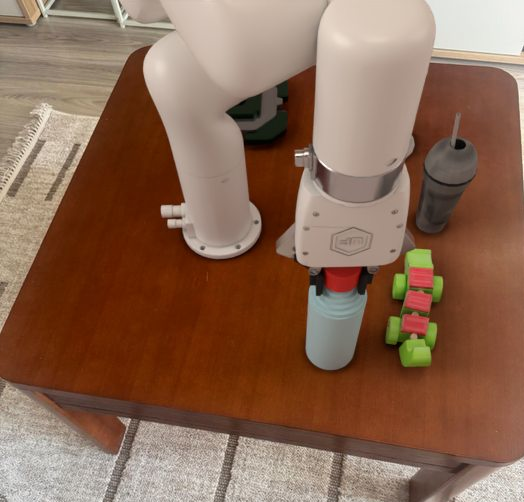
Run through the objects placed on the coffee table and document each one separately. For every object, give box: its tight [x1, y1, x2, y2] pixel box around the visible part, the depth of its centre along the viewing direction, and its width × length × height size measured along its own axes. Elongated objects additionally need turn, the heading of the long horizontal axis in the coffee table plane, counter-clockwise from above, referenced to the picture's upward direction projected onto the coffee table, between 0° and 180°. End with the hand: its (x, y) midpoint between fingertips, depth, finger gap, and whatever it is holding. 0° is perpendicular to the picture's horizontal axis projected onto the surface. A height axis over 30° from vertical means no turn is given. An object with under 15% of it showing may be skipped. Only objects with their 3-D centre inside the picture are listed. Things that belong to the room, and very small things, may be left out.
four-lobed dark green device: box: [225, 79, 289, 146], centre depth 94 cm, size 18×18×5 cm
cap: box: [323, 266, 362, 293], centre depth 57 cm, size 4×4×3 cm
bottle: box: [305, 284, 368, 371], centre depth 65 cm, size 7×7×20 cm
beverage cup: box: [415, 112, 479, 234], centre depth 74 cm, size 7×7×20 cm
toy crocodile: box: [385, 248, 444, 368], centre depth 73 cm, size 20×7×6 cm, turn 167°
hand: (339, 283), depth 59 cm, fingers closed on cap, 4 cm apart
